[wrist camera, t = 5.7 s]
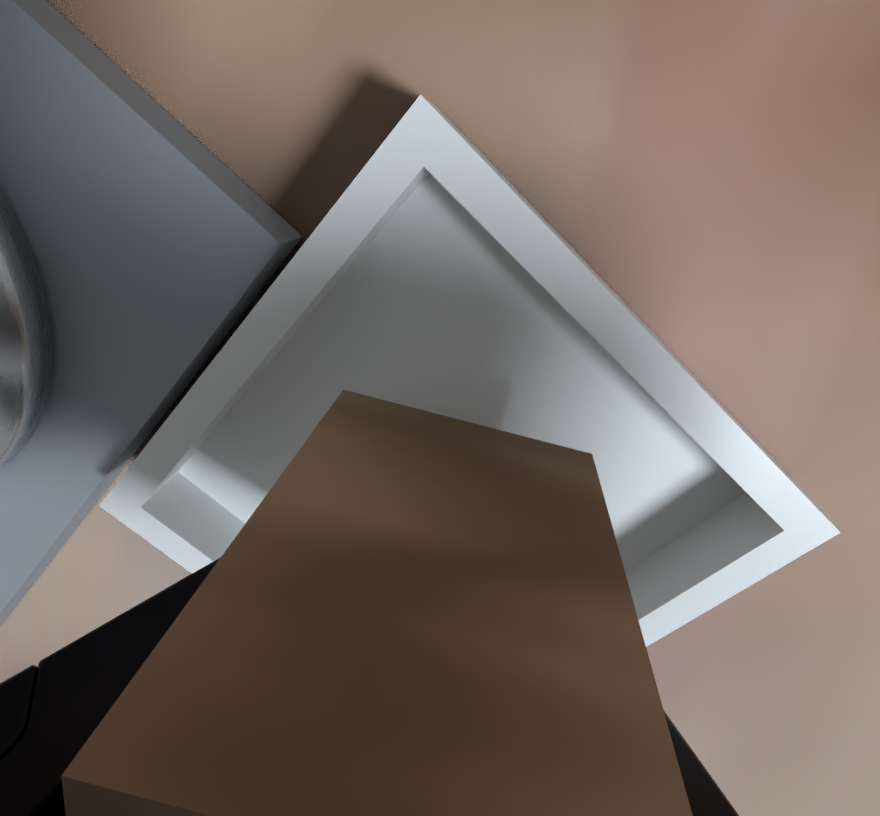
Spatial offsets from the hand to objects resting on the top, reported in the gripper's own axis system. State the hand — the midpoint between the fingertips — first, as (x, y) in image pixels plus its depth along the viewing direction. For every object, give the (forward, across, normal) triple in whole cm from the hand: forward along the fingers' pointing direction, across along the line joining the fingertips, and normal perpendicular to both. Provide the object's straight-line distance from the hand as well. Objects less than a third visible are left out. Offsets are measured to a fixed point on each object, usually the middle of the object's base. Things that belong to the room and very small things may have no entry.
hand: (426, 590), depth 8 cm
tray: (+4, 0, 0) cm, 4 cm away
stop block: (+2, 0, 0) cm, 2 cm away
